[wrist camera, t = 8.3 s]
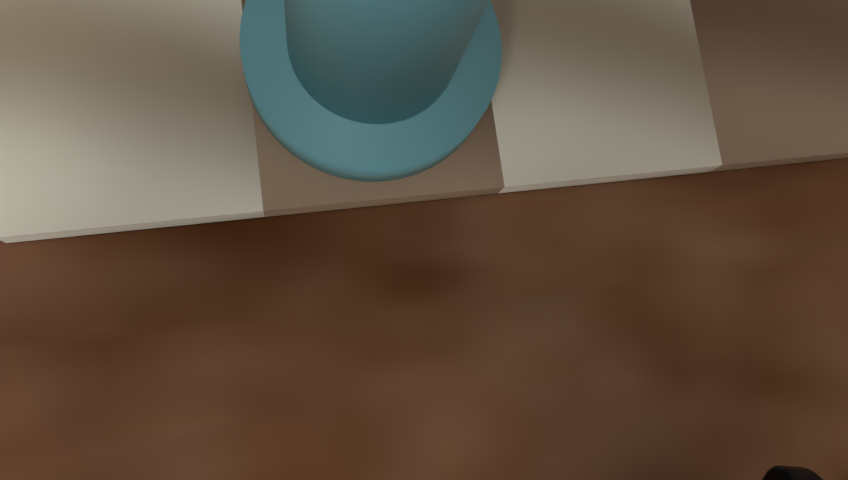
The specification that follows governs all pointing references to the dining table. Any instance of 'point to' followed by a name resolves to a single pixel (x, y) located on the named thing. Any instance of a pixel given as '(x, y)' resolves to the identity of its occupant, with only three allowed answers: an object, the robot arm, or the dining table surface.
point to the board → (453, 177)
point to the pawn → (370, 79)
